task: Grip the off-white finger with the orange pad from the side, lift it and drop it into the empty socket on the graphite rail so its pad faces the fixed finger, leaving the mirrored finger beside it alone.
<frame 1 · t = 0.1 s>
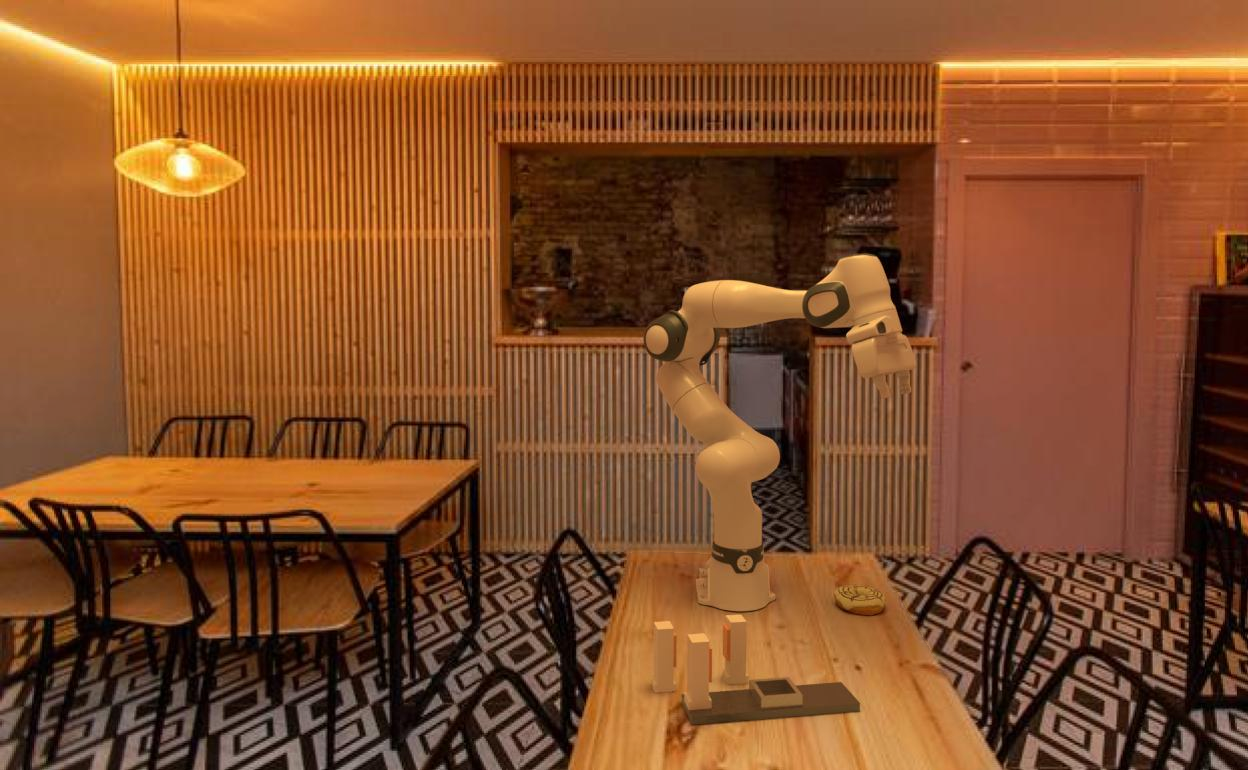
hand: (897, 395, 167), 52 cm above the table, fingers open, 8 cm apart
rail: (769, 706, 147), on the table
fixed finger: (697, 704, 145), resting on rail
loose finger: (735, 679, 157), on the table
mirrored finger: (663, 687, 154), on the table
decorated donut: (859, 608, 194), on the table
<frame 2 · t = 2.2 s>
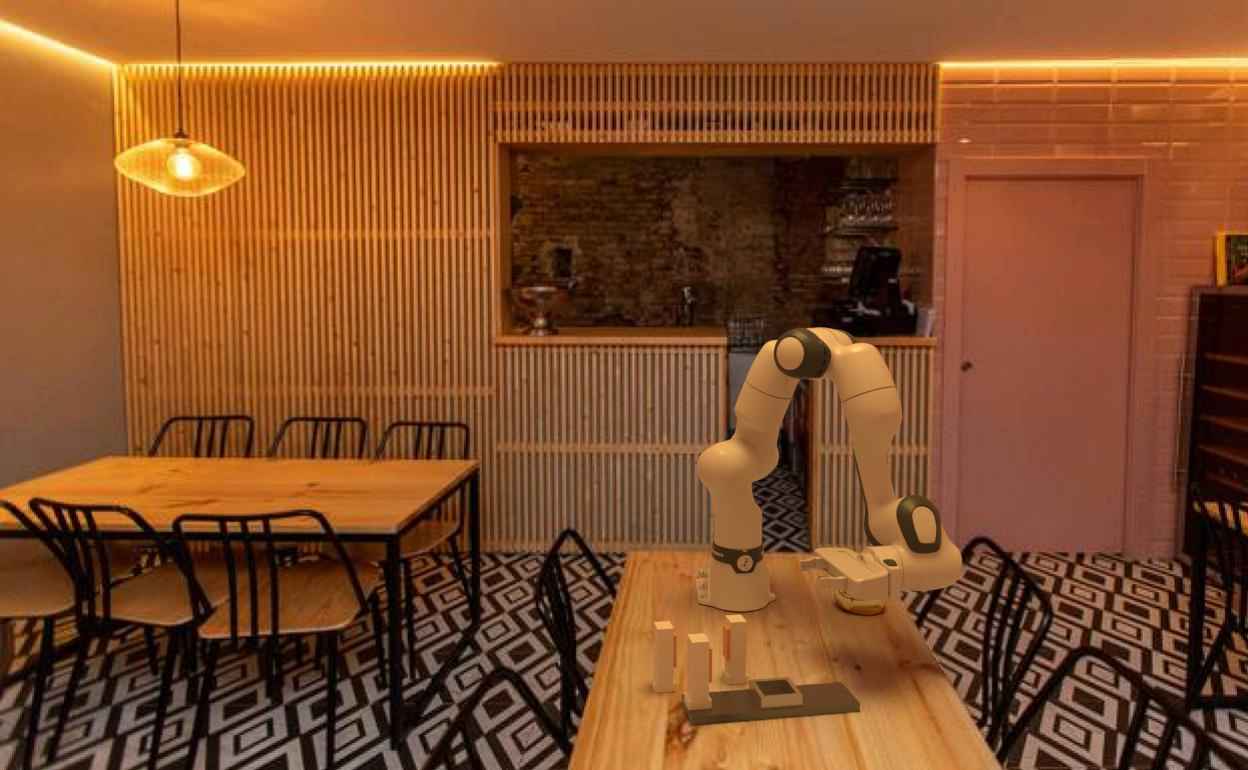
hand: (808, 573, 157), 20 cm above the table, fingers open, 8 cm apart
nothing on the table moved.
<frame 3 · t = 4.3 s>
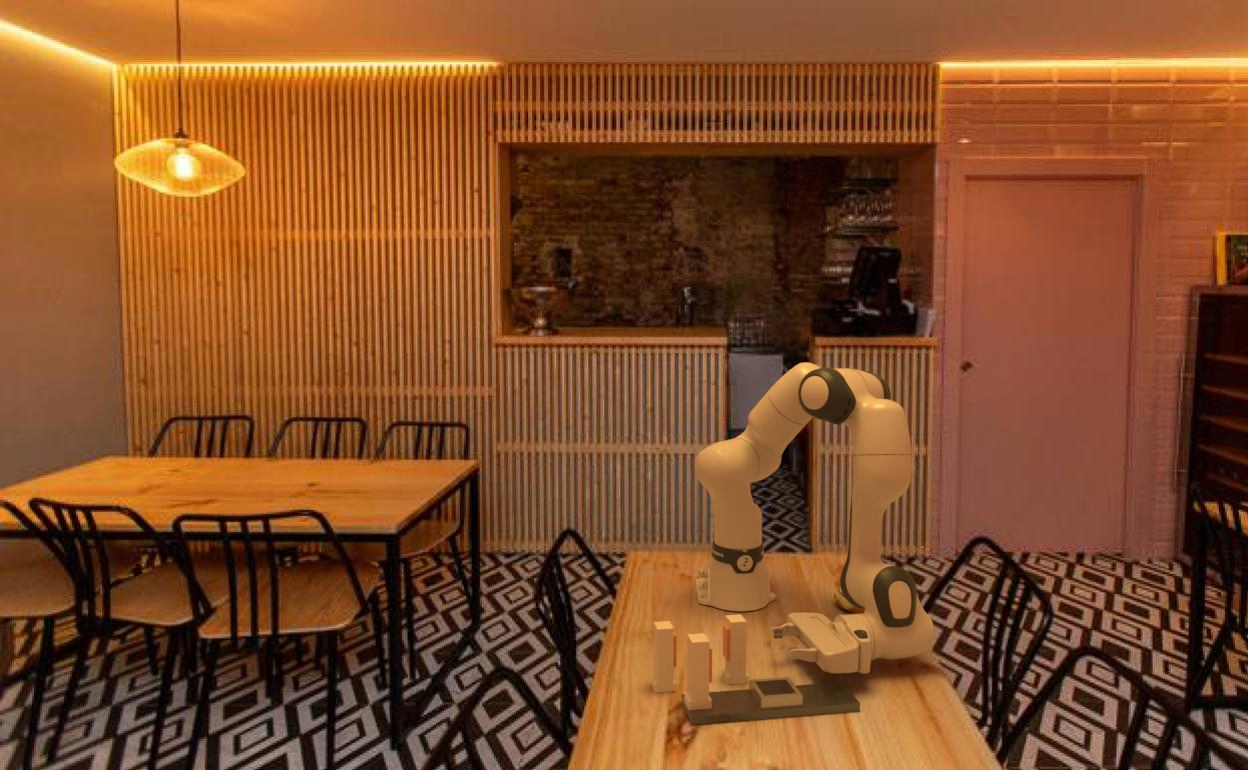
hand: (780, 642, 158), 7 cm above the table, fingers open, 8 cm apart
nothing on the table moved.
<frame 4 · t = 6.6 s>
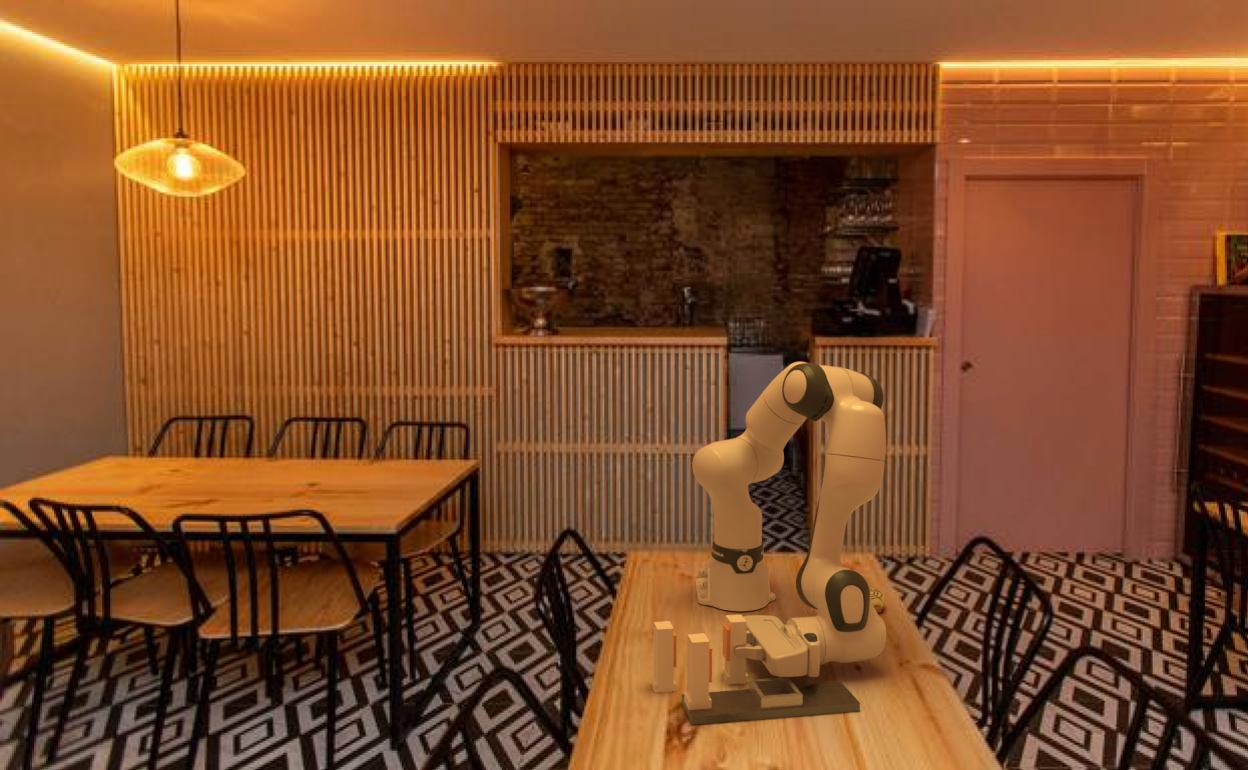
hand: (731, 646, 156), 7 cm above the table, fingers closed on loose finger, 3 cm apart
loose finger: (735, 679, 157), on the table, touching gripper
everything else where it was.
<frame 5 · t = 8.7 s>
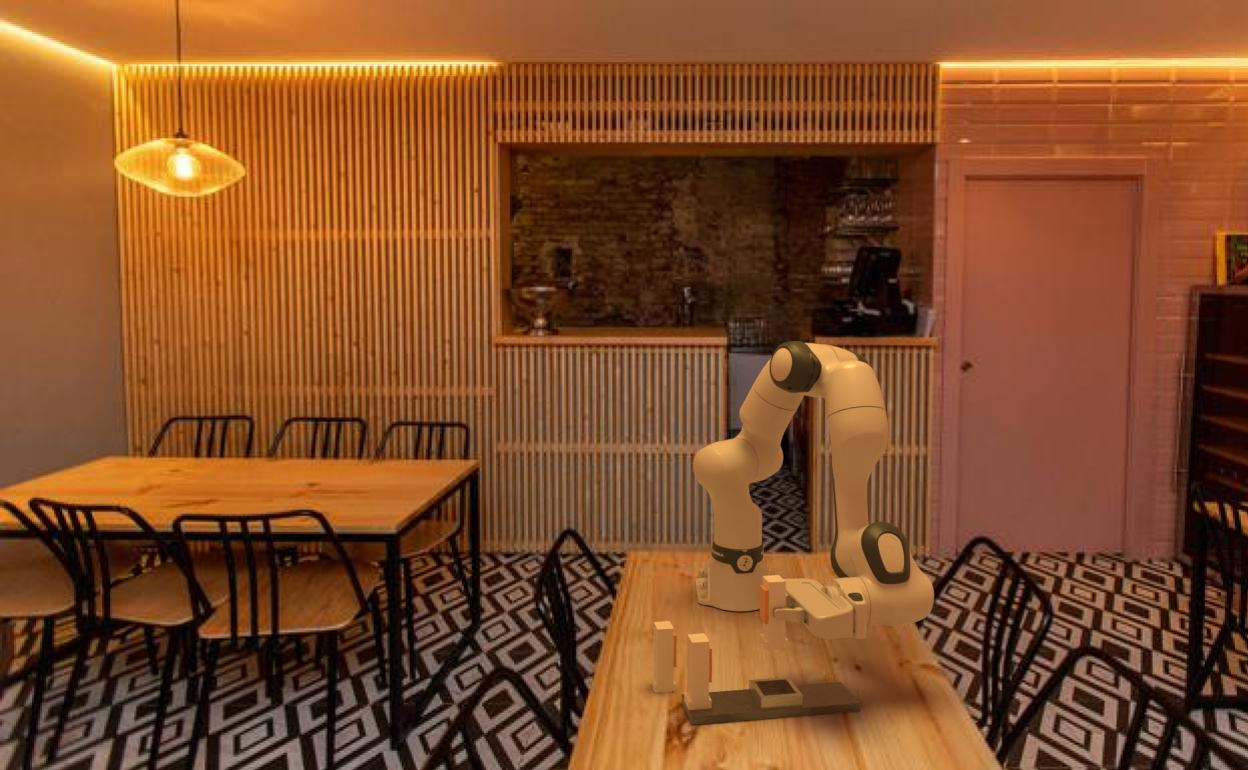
hand: (769, 608, 146), 18 cm above the table, fingers closed on loose finger, 3 cm apart
loose finger: (773, 645, 147), point 11 cm above the table, touching gripper
everything else where it was.
when the fingers open (11 cm above the table, at t = 10.7 s): loose finger drops 2 cm, resting on rail.
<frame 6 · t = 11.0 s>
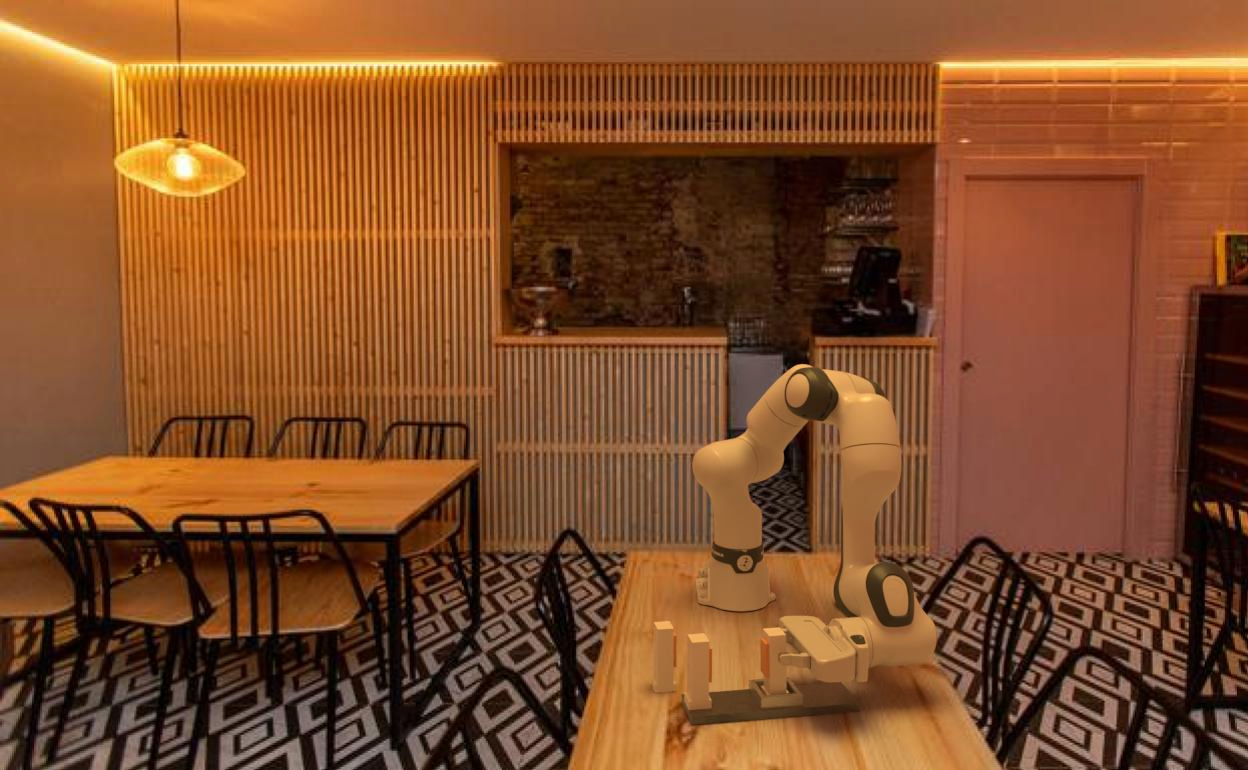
hand: (771, 648, 146), 11 cm above the table, fingers open, 7 cm apart
loose finger: (775, 697, 147), point 2 cm above the table, touching rail
everything else where it was.
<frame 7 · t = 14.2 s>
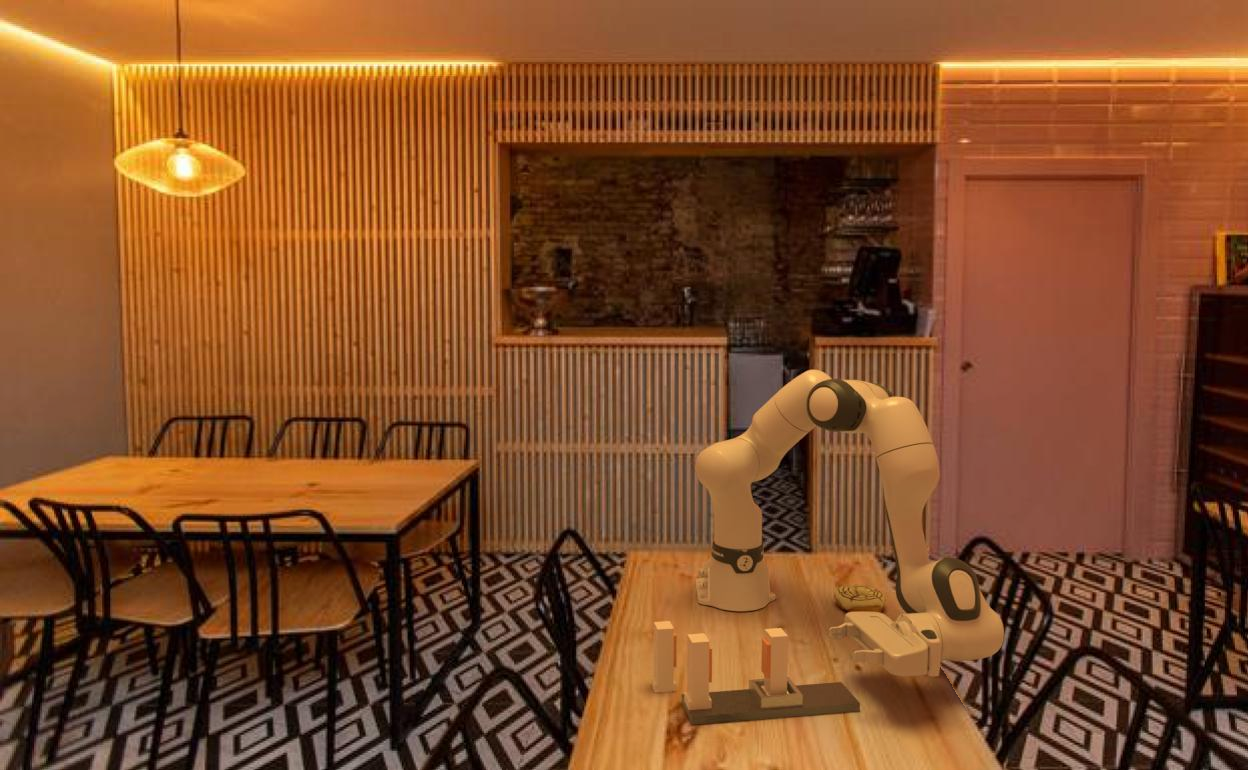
hand: (841, 644, 148), 11 cm above the table, fingers open, 8 cm apart
nothing on the table moved.
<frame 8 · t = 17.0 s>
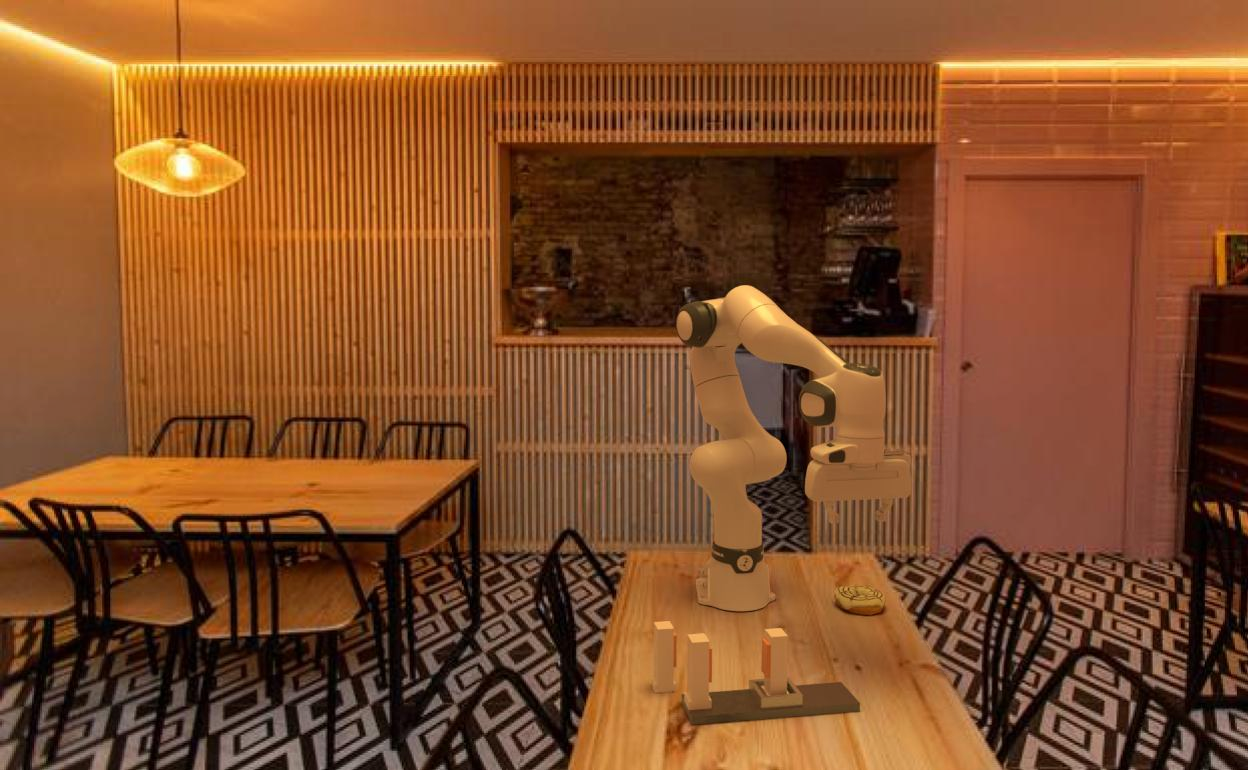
hand: (857, 521, 159), 29 cm above the table, fingers open, 8 cm apart
nothing on the table moved.
at the end: loose finger 0.1 cm from the target spot on the rail, point 1.5 cm above the rail's base; loose finger tilted 0°; the gripper is holding nothing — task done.
